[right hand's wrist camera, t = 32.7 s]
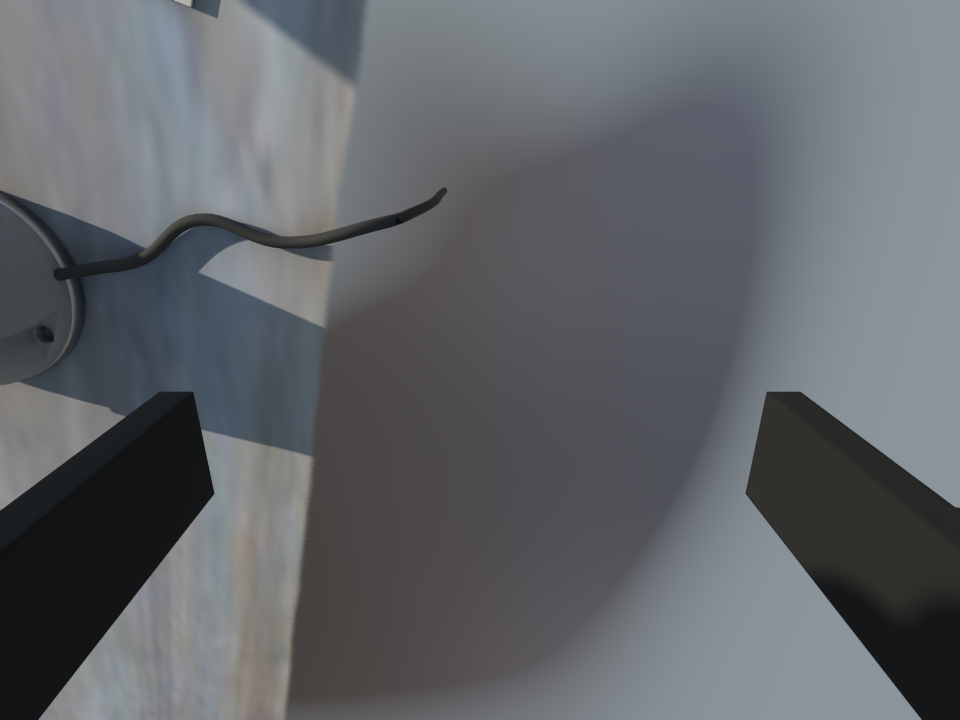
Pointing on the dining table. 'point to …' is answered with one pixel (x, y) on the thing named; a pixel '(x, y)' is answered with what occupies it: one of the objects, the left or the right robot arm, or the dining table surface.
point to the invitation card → (185, 2)
